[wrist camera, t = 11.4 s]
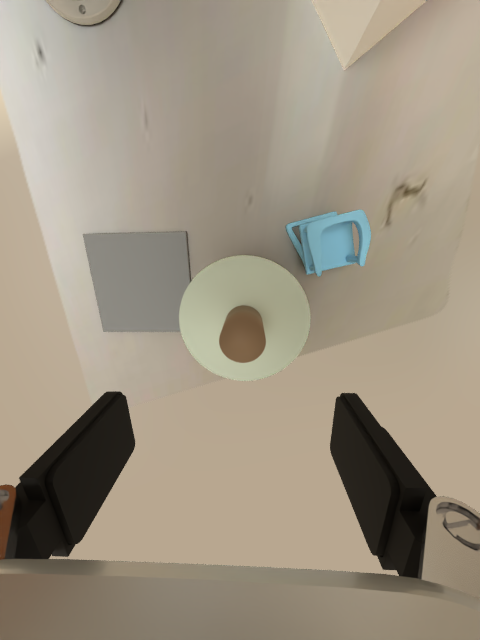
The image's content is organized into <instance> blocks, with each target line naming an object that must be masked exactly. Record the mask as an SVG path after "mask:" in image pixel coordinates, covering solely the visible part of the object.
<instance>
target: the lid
mask: <svg viewBox="0 0 480 640" xmlns="http://www.w3.org/2000/svg"><path fill="white" fill-rule="evenodd" d="M179 325H180V331H181V335H182V338H183V340H184V343H185V345H186V347H187V348H188V350H189V352H190V353H191V354H192V356H193V357H194V358H195V359H196V360H197V361H198V362H199V363H200V364H201V365H202V366H203V367H205V368H206V369H207V370H209V371H211V372H212V373H214V374H216V375H219V376H221V377H224V378H228V379H232V380H239V381H252V380H259V379H263V378H266V377H269V376H271V375H274V374H276V373H277V372H280V371H281V370H283V369H284V368H285V367H287V366H288V365H289V364H290V363H291V362H293V361H294V360H295V358H296V357H297V356H298V355H299V353H300V352H301V350H302V349H303V347H304V345H305V342H306V340H307V337H308V334H309V329H310V307H309V303H308V300H307V297H306V295H305V292H304V290H303V289H302V287H301V285H300V284H299V282H298V281H297V280H296V279H295V277H294V276H293V275H292V274H291V273H289V272H288V271H287V270H286V269H285V268H283V267H282V266H280V265H279V264H277V263H275V262H273V261H271V260H268V259H265V258H262V257H257V256H251V255H239V256H232V257H227V258H224V259H221V260H218V261H216V262H214V263H212V264H210V265H208V266H207V267H206V268H204V269H203V270H201V271H200V272H199V273H198V274H197V275H196V276H195V277H194V278H193V280H192V281H191V282H190V284H189V285H188V287H187V289H186V290H185V292H184V295H183V298H182V300H181V305H180V310H179Z"/></svg>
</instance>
